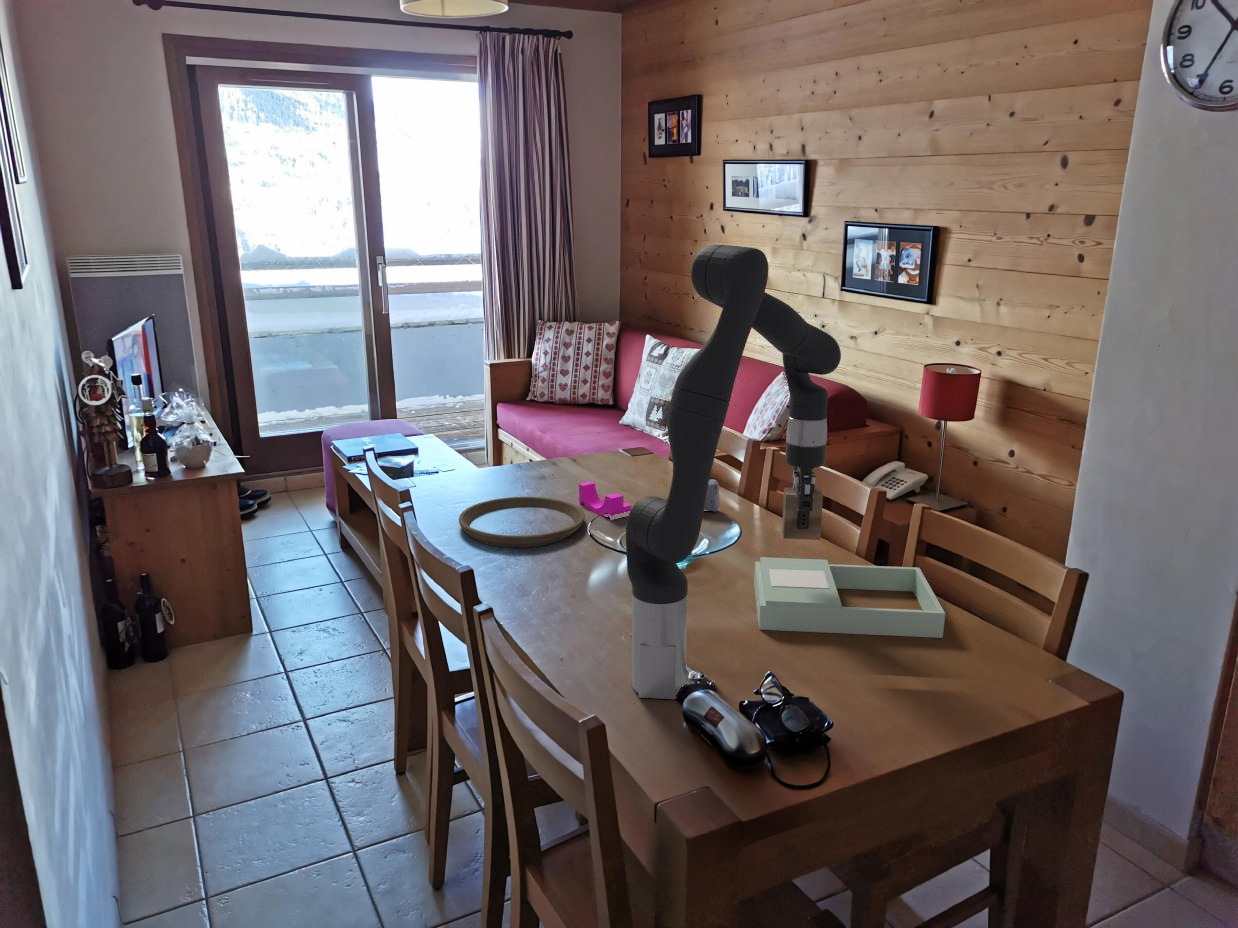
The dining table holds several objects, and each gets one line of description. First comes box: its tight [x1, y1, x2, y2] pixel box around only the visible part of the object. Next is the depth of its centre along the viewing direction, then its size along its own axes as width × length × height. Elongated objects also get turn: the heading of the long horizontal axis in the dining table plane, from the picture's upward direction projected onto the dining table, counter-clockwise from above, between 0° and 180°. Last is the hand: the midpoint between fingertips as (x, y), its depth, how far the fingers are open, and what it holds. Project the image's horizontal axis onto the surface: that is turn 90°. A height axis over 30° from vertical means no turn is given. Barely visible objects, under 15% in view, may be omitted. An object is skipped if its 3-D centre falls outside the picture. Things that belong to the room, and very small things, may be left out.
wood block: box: [781, 487, 824, 541], centre depth 175 cm, size 4×7×9 cm, turn 84°
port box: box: [753, 556, 946, 639], centre depth 179 cm, size 22×34×6 cm, turn 84°
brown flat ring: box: [458, 496, 586, 549], centre depth 222 cm, size 31×31×5 cm
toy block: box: [578, 481, 632, 517], centre depth 233 cm, size 15×6×8 cm, turn 35°
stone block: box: [704, 479, 721, 513], centre depth 233 cm, size 12×5×10 cm, turn 62°
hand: (801, 523), depth 175 cm, fingers closed on wood block, 4 cm apart
